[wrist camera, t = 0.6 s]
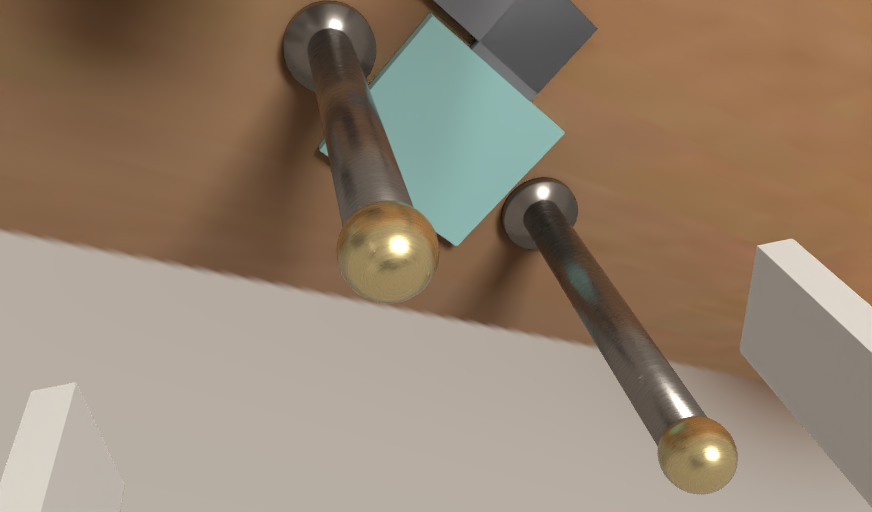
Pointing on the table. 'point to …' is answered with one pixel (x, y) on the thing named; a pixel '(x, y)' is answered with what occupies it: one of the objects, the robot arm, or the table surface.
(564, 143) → the table surface
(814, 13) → the table surface
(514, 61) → the track
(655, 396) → the posts
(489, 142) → the pad
